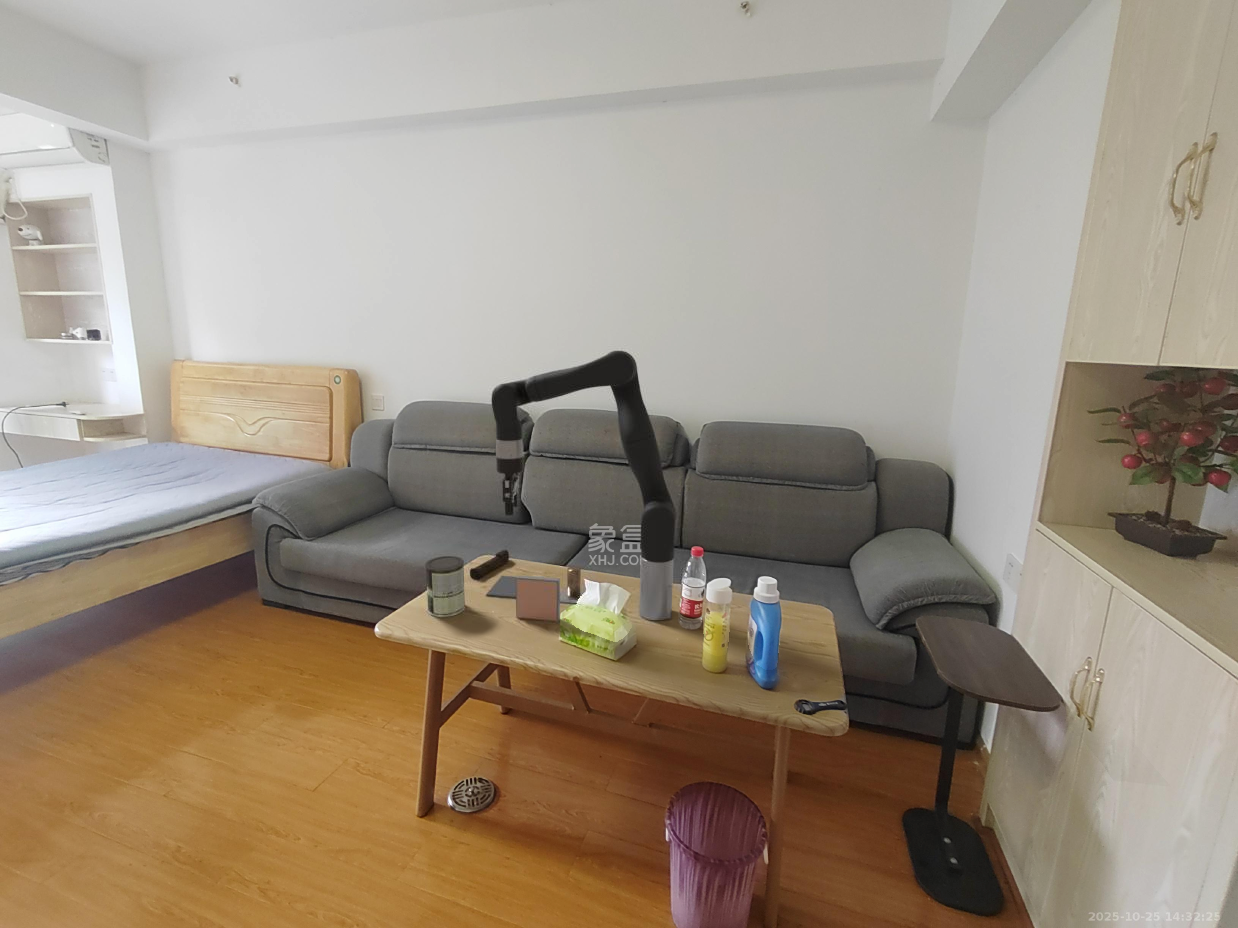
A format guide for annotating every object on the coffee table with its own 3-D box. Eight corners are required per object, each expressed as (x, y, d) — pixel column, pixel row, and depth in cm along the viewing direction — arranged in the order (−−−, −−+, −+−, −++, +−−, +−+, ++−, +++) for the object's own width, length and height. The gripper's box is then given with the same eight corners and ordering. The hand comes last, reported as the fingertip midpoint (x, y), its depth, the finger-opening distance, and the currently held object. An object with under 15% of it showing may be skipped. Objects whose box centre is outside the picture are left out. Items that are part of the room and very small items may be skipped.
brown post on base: (589, 592, 171) (589, 565, 169) (584, 604, 164) (584, 575, 162) (563, 590, 172) (563, 563, 170) (557, 602, 164) (557, 573, 163)
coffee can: (419, 612, 156) (417, 565, 153) (445, 598, 165) (443, 553, 162) (447, 620, 152) (445, 572, 149) (472, 605, 161) (471, 559, 158)
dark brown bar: (478, 581, 178) (478, 567, 177) (469, 578, 180) (468, 565, 179) (515, 562, 194) (515, 549, 193) (505, 560, 196) (505, 547, 195)
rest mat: (543, 580, 179) (543, 578, 179) (531, 599, 165) (531, 597, 165) (501, 577, 181) (501, 575, 181) (486, 595, 167) (486, 594, 167)
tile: (559, 618, 154) (559, 578, 152) (558, 622, 153) (558, 581, 150) (517, 615, 156) (517, 575, 153) (515, 618, 154) (515, 577, 152)
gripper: (520, 460, 148) (521, 518, 152) (526, 450, 162) (527, 503, 166) (491, 460, 148) (494, 518, 151) (500, 450, 162) (502, 504, 165)
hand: (511, 510), depth 159 cm, fingers open, 8 cm apart
